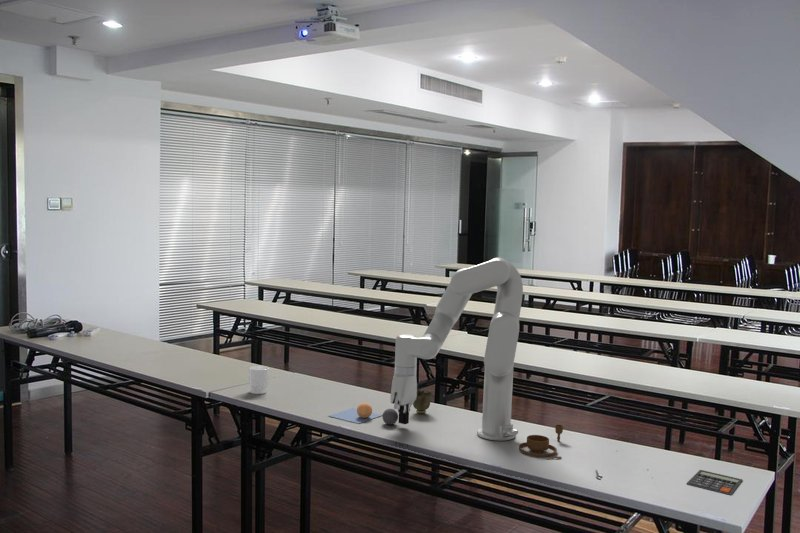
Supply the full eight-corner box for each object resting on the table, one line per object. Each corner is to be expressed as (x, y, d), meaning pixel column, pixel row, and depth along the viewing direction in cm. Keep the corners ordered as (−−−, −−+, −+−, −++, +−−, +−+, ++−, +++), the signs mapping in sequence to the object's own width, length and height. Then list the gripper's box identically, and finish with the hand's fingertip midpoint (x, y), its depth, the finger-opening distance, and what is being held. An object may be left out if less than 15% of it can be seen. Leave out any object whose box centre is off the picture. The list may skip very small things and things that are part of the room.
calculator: (686, 482, 194) (700, 469, 206) (686, 486, 194) (699, 472, 206) (731, 493, 187) (742, 478, 199) (730, 497, 187) (742, 482, 199)
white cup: (246, 390, 282) (247, 366, 281) (265, 389, 285) (266, 365, 285) (251, 395, 275) (251, 370, 274) (270, 393, 278) (271, 369, 277)
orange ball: (369, 397, 249) (358, 403, 252) (361, 404, 245) (351, 410, 247) (377, 410, 249) (367, 416, 252) (370, 417, 244) (360, 423, 247)
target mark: (382, 415, 252) (382, 415, 252) (358, 423, 241) (358, 423, 241) (352, 408, 260) (352, 408, 260) (328, 416, 249) (328, 415, 249)
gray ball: (387, 404, 244) (383, 418, 246) (382, 409, 239) (378, 423, 240) (401, 409, 243) (398, 423, 244) (396, 414, 238) (393, 429, 239)
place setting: (506, 445, 225) (507, 428, 225) (558, 440, 232) (559, 423, 232) (535, 463, 209) (536, 444, 208) (590, 458, 216) (591, 439, 216)
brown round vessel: (407, 414, 256) (408, 392, 255) (416, 409, 262) (417, 388, 262) (425, 417, 252) (426, 395, 252) (434, 412, 259) (435, 391, 258)
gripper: (408, 365, 246) (406, 416, 247) (383, 372, 234) (381, 425, 235) (426, 369, 242) (424, 420, 243) (402, 375, 229) (400, 430, 230)
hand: (403, 423), depth 239 cm, fingers closed
